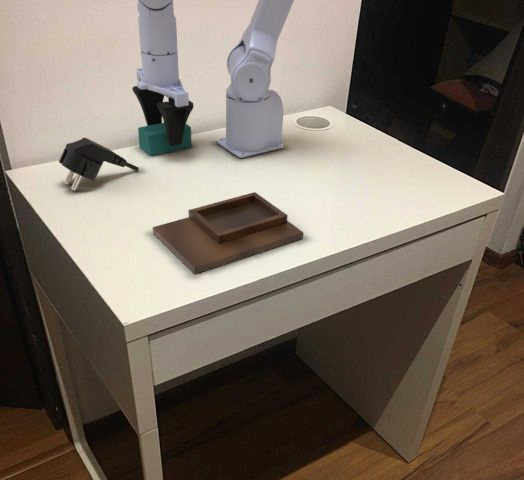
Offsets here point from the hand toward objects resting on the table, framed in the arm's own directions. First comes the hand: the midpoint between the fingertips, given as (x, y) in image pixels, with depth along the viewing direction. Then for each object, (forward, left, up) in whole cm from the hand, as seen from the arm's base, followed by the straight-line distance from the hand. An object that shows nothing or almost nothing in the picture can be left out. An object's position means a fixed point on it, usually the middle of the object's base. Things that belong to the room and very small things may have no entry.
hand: (164, 136), depth 100 cm
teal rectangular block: (0, 0, -2) cm, 2 cm away
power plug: (+14, +7, -2) cm, 16 cm away
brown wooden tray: (+6, +31, -2) cm, 32 cm away
